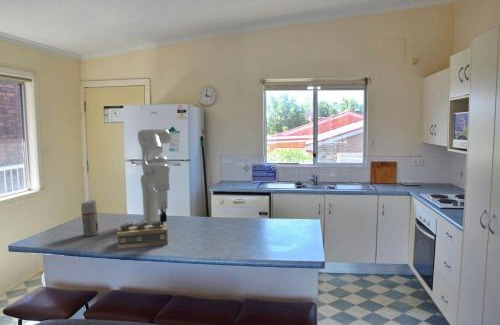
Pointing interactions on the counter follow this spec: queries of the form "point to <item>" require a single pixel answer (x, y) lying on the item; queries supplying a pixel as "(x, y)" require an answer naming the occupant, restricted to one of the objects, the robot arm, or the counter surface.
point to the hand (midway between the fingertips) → (163, 221)
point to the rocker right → (157, 222)
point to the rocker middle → (142, 224)
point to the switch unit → (142, 236)
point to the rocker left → (126, 225)
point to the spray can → (89, 218)
